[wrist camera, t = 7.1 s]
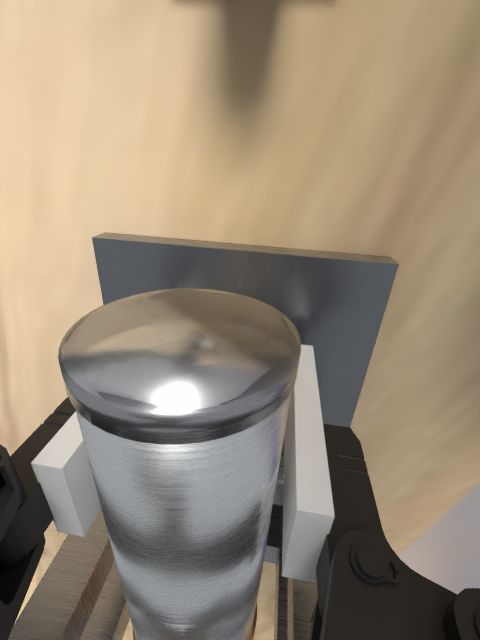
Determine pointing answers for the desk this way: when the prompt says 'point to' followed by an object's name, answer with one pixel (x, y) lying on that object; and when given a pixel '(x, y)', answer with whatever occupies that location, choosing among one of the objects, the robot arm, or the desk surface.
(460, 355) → the desk surface
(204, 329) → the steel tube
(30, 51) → the desk surface
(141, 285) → the grey bracket stand
